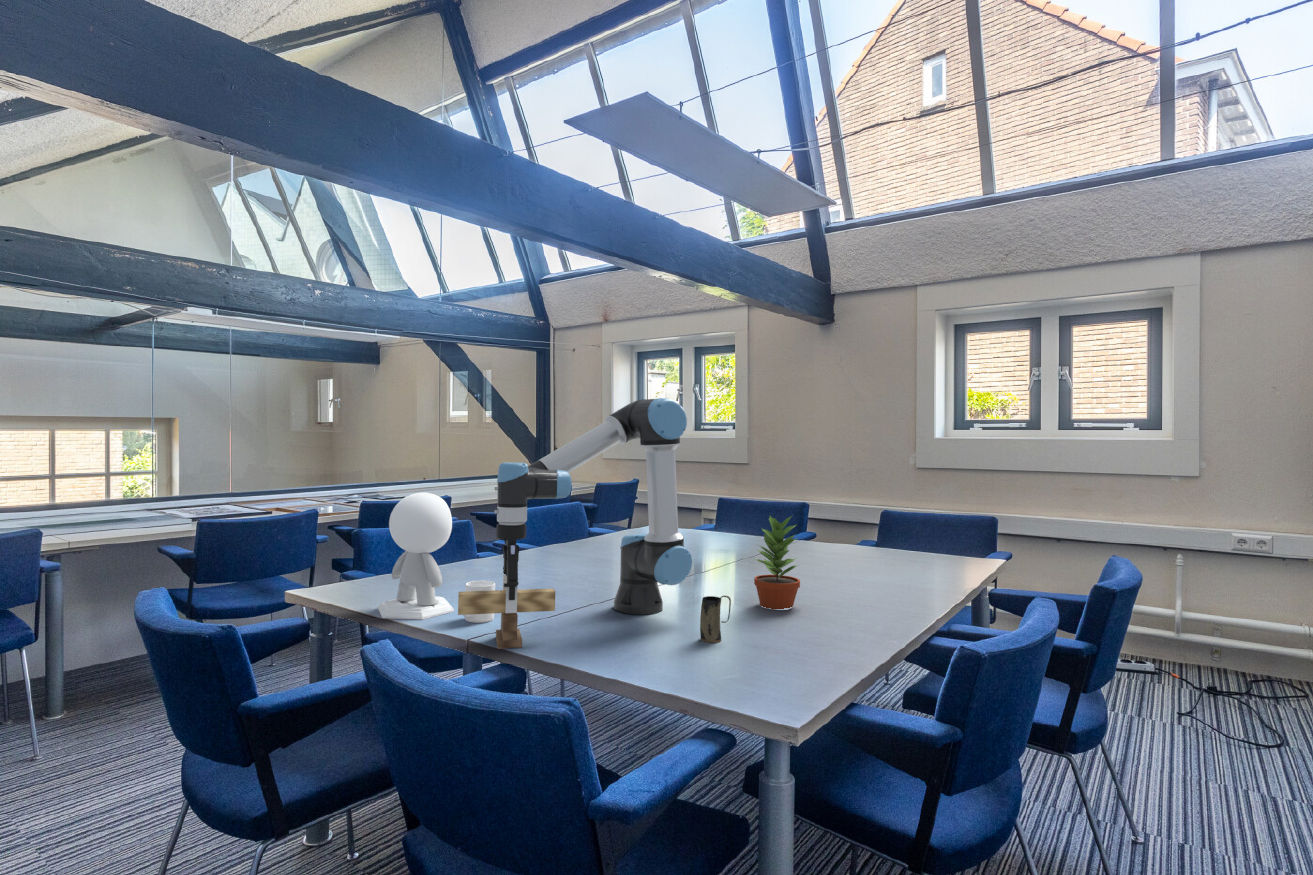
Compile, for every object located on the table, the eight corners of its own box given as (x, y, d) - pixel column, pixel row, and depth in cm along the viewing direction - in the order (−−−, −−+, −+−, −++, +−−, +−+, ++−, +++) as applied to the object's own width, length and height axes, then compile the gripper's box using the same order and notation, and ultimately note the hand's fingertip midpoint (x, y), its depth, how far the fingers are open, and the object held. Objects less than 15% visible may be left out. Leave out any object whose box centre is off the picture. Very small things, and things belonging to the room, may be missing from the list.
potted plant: (751, 600, 230) (753, 509, 230) (797, 602, 228) (800, 511, 228) (751, 611, 215) (753, 514, 215) (801, 614, 213) (803, 516, 213)
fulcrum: (519, 636, 182) (519, 605, 182) (521, 647, 173) (522, 615, 173) (495, 637, 181) (496, 606, 181) (497, 648, 171) (498, 616, 171)
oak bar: (553, 607, 181) (553, 588, 181) (554, 610, 178) (555, 591, 178) (458, 611, 175) (458, 591, 175) (457, 614, 172) (458, 594, 172)
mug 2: (697, 641, 182) (698, 595, 182) (702, 635, 187) (703, 591, 187) (726, 645, 179) (728, 598, 179) (731, 639, 184) (732, 594, 184)
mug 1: (473, 628, 189) (474, 590, 189) (449, 624, 192) (450, 587, 192) (500, 618, 200) (501, 582, 200) (476, 614, 203) (477, 579, 203)
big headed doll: (468, 607, 210) (471, 492, 210) (404, 624, 191) (408, 497, 191) (425, 598, 221) (427, 488, 221) (360, 612, 201) (363, 492, 201)
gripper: (494, 517, 188) (492, 595, 188) (498, 529, 164) (496, 619, 164) (522, 517, 190) (520, 594, 190) (530, 529, 166) (528, 618, 166)
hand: (509, 606), depth 177 cm, fingers open, 13 cm apart
